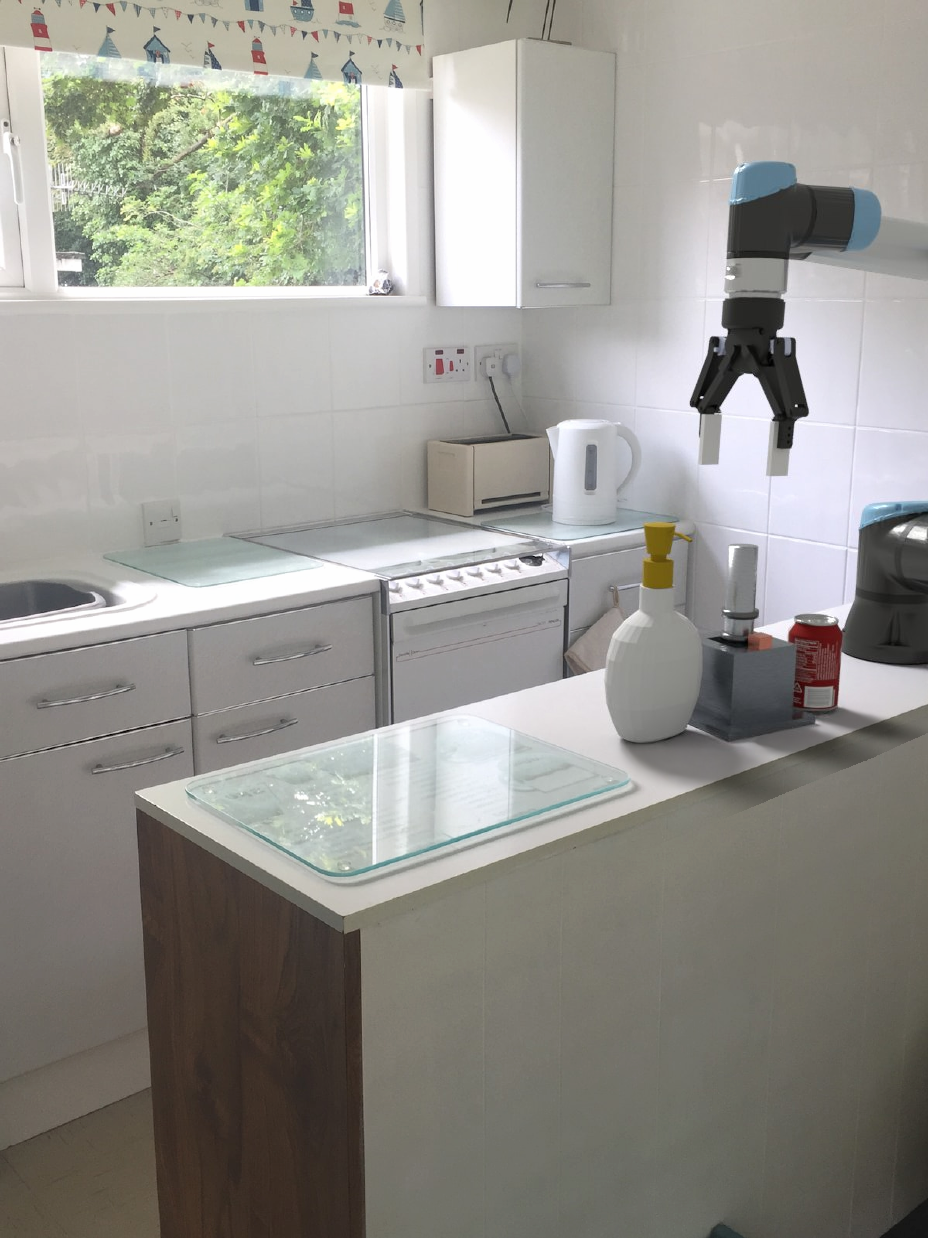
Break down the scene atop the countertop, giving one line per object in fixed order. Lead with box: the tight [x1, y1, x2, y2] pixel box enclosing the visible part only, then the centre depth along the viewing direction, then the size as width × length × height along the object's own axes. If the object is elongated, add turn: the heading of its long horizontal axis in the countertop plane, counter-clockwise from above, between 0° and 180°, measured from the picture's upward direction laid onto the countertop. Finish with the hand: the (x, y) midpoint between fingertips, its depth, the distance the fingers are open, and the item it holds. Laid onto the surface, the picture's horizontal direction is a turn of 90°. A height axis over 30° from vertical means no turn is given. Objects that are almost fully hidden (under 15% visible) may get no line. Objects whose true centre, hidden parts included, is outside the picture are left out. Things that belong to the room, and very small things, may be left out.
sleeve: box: [688, 630, 817, 742], centre depth 152 cm, size 14×14×12 cm
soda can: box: [786, 613, 843, 715], centre depth 156 cm, size 7×7×12 cm
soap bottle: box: [604, 521, 703, 744], centre depth 143 cm, size 14×9×26 cm, turn 127°
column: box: [719, 543, 760, 648], centre depth 151 cm, size 5×5×21 cm
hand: (741, 470), depth 153 cm, fingers open, 13 cm apart
